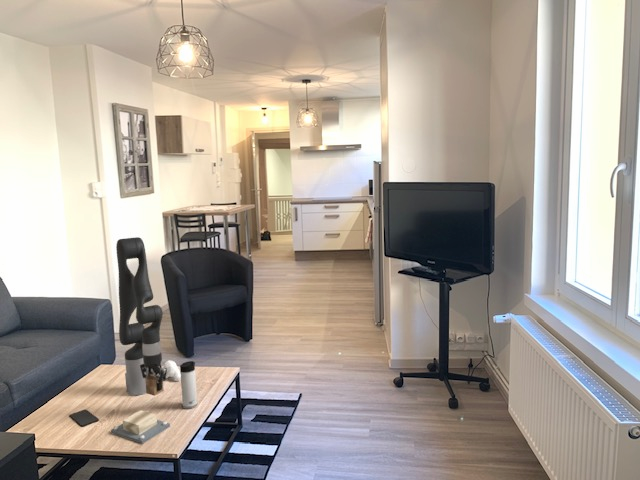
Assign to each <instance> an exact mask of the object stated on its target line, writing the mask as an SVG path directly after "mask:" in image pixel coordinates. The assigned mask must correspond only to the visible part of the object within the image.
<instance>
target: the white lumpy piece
mask: <svg viewBox="0 0 640 480" xmlns="http://www.w3.org/2000/svg"><path fill="white" fill-rule="evenodd" d="M162 368H163V369H165V368H166V369H167V373H166V380H168V379H169V377H171V378H173V381H175V382H181V374H180V368H178V365H177V363H176V362H175V361H174V360H171V359H170V360H166V362H165V363H163V366H162Z"/></svg>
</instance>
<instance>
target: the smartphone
mask: <svg viewBox="0 0 640 480" xmlns="http://www.w3.org/2000/svg"><path fill="white" fill-rule="evenodd" d="M68 417H69V418H70V419H71V420H72V421H74V422H75V423H76V424H77V425H78V426H80V427H82V428H85V427H87V426H90V425H93V424H96V423H97V422H99V421H100V418H99V417H97V416H96V415H94V414H93V413H91V412H90V411H89V410H88V409H82V410H79V411H76V412H73V413H71V414H69V415H68Z"/></svg>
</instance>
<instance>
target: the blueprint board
mask: <svg viewBox="0 0 640 480" xmlns="http://www.w3.org/2000/svg"><path fill="white" fill-rule="evenodd" d="M170 427H171V423H168V422H167V421H162V420H160V419H159V420H158V419H157V425H155V426H153V427H152V428H150V429H148V430H147V431H145V432H143V433H142V434H140V435H138V434H135V433H132V432H129V431H126V430H124V429H123V422H122V423H120V424H119V425H117V426H114V427H113V428H112V429H110V433H111V434H113V435H116V436H119V437H122V438H125V439H127V440H131V441H133V442H136V443H140V444H142V445H143V444H144V443H146V442H147V441H149V440H151V439H153V438H154V437H156V436H158V435H159V434H160V433H162V432H164V431H166V429H168V428H170Z"/></svg>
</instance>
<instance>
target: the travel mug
mask: <svg viewBox="0 0 640 480" xmlns="http://www.w3.org/2000/svg"><path fill="white" fill-rule="evenodd" d="M195 365H196V362H195V361H193V360H189V361H186V362H182V363H181V364H180V365H179V372H180V374H181V379H180V387H181V399H182V401H181V402H182V407H183V409H186V410H191V409H194V408H196V407H197V406H198V395H197V394H198V393H197V378H196V368H195V367H196V366H195Z"/></svg>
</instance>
